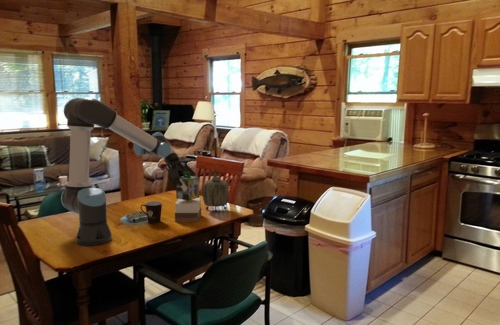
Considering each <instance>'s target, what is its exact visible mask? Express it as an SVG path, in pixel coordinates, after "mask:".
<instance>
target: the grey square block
mask: <svg viewBox="0 0 500 325" xmlns="http://www.w3.org/2000/svg"><path fill="white" fill-rule="evenodd" d="M201 216H202V207H200V210H199V212H198V213H176V211H175V212H174V222H181V223H182V222H183V223H185V222H186V223H187V222H188V223H189V222H190V223H191V222H192V223H198V222H199V220H200V218H201Z"/></svg>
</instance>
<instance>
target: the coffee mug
mask: <svg viewBox="0 0 500 325" xmlns="http://www.w3.org/2000/svg"><path fill="white" fill-rule="evenodd" d="M143 206H144V207H145V211H144V210H143V208H142V207H143ZM162 206H163V202H162V201H160V200H159V201H158V200H154V201H153V200H151V201H147V202H145V204H141V205H140V207H139V208H140V211H142V213H143V214H145V215H146V217H147V223H149V224H159V223H160V222H161V221H162V220H161V218H162V208H163V207H162Z"/></svg>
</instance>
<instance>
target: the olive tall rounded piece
mask: <svg viewBox="0 0 500 325" xmlns="http://www.w3.org/2000/svg"><path fill="white" fill-rule="evenodd" d="M212 171H219V172H220V173H219V174H217V173H214V174H213V173H211V172H212ZM222 173H223V172H222V170H221V169H219V168H212V169H211V170H209V175H210V176H212V178H211V179H209V180H208V179H207V180H205V182H204V184H203V188H202V199H203V200H202V201H203V204H204V205H205V210H206V211H207V210H209V207H213V208H214V207H215V208H214V210H213V212H215V213H217V212H218V210H217V207H223V210H227V207H226V205H227V204H228V200H229V199H228V198H229V184H228V182H227V180H224V179H220V177H219V176H221V175H222Z"/></svg>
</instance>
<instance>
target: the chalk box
mask: <svg viewBox="0 0 500 325" xmlns="http://www.w3.org/2000/svg"><path fill="white" fill-rule="evenodd" d="M186 173H187V174H188V176H187V175H186ZM179 178H180V179H182V181H183V182H184V184H185V185H186V187H187V188H188V189H187V190H186V191H185V192H184V191H183V189H182V188H181V186H179V184H178V183H175V190H176V193H175V195H176V196H175V197H176V199H177V200H178V199H182V200H187V201H190V200H192V199H195V198H200V186H199V185H200V178H199V176H196V175H195V176H190V173H189V172H185V171H183V172H182V176H179ZM180 179H179V180H180Z"/></svg>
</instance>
